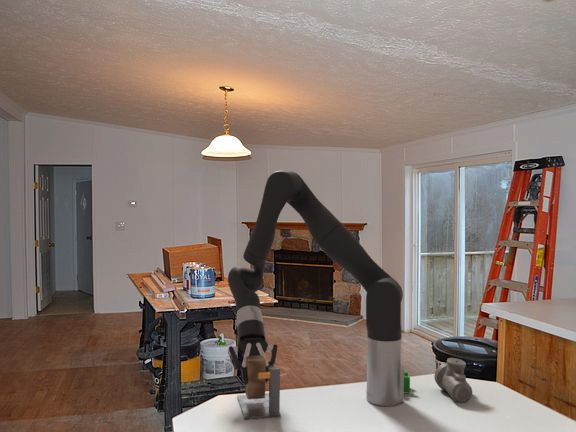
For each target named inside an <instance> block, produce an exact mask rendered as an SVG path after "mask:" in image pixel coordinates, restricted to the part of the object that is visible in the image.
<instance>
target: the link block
mask: <svg viewBox="0 0 576 432" xmlns="http://www.w3.org/2000/svg"><path fill="white" fill-rule="evenodd" d="M246 361H247V365H246V368H247V373H248V384H245V395H246V396H247V398H248V399H262V398H265V394H266V383H265V378H264V379H258V372H265V369H266V360H265V358H264V357H263V356H261V355H256V356H246Z"/></svg>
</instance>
